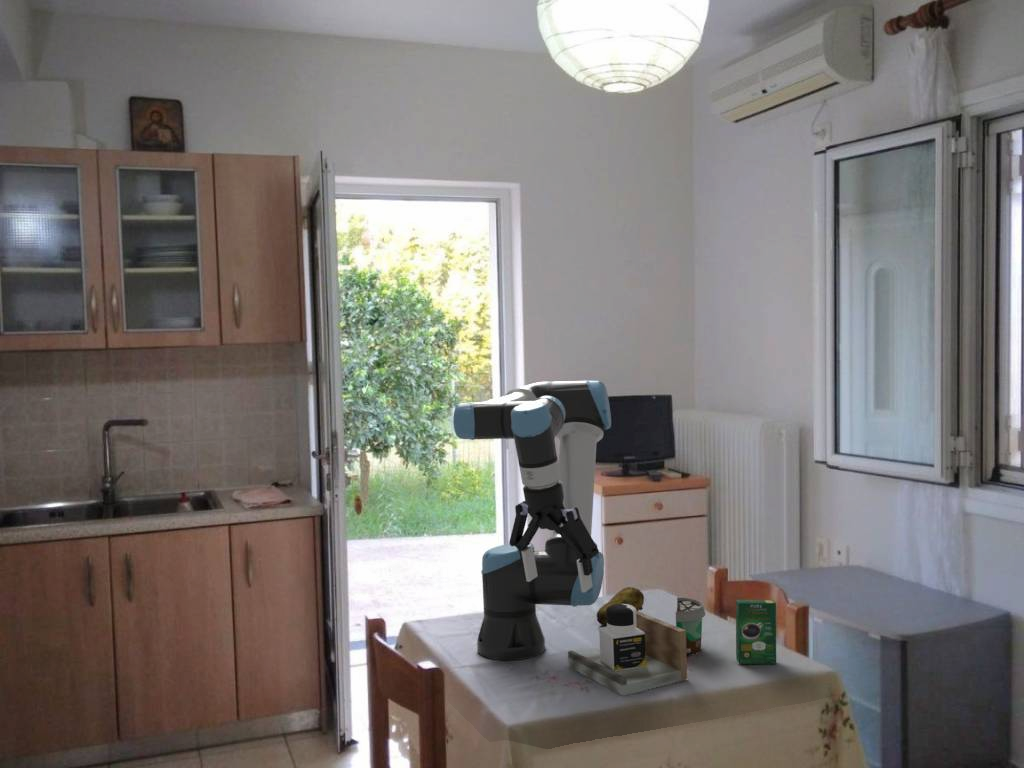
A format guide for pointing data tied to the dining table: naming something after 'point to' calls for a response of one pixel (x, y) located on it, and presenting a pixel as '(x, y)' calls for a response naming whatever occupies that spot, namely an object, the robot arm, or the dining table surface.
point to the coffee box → (756, 631)
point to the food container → (690, 622)
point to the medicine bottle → (622, 639)
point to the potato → (622, 602)
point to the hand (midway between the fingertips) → (559, 584)
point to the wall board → (661, 660)
